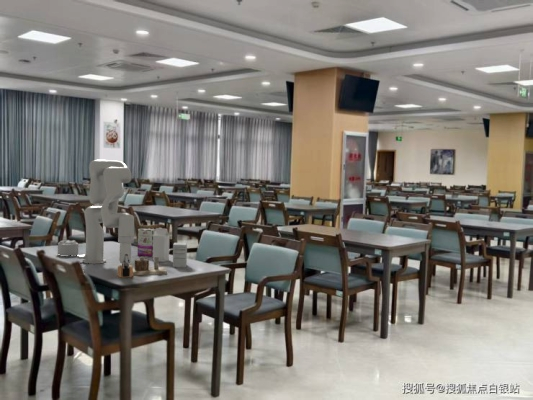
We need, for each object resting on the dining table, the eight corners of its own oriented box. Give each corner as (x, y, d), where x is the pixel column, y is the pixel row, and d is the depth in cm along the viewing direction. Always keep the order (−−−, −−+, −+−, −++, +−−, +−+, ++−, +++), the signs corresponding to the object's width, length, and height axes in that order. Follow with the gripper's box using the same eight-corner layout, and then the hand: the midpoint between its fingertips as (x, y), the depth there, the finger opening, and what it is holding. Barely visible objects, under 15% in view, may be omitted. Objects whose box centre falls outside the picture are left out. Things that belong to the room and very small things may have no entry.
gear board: (133, 274, 268) (133, 259, 268) (131, 270, 279) (131, 255, 278) (166, 273, 274) (167, 258, 273) (163, 269, 284) (164, 254, 284)
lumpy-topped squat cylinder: (63, 257, 311) (63, 242, 310) (54, 254, 320) (54, 239, 320) (80, 255, 318) (80, 241, 318) (70, 252, 328) (71, 238, 327)
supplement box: (173, 264, 300) (174, 242, 299) (186, 265, 301) (187, 242, 300) (172, 267, 293) (172, 244, 292) (185, 267, 293) (186, 244, 292)
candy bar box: (157, 256, 326) (157, 229, 325) (152, 257, 322) (153, 230, 321) (141, 254, 330) (142, 228, 329) (137, 255, 326) (137, 228, 325)
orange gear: (118, 277, 260) (118, 267, 260) (117, 274, 267) (117, 265, 267) (133, 277, 263) (133, 267, 262) (131, 274, 269) (132, 264, 269)
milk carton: (164, 262, 307) (165, 229, 306) (152, 261, 308) (153, 228, 307) (168, 260, 314) (169, 228, 313) (157, 259, 315) (158, 227, 314)
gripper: (117, 237, 271) (116, 271, 272) (119, 242, 254) (118, 278, 255) (132, 237, 273) (131, 271, 274) (135, 241, 257) (134, 278, 258)
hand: (125, 274), depth 265 cm, fingers closed on orange gear, 7 cm apart
